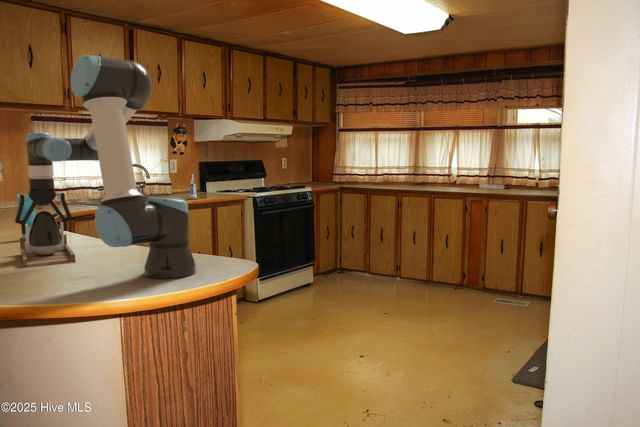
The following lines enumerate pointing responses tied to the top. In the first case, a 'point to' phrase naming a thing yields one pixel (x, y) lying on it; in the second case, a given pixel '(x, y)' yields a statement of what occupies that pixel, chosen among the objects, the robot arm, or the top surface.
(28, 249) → the pusher
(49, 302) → the top surface
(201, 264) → the top surface
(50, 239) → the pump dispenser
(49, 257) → the brown wooden tray
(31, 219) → the tube
